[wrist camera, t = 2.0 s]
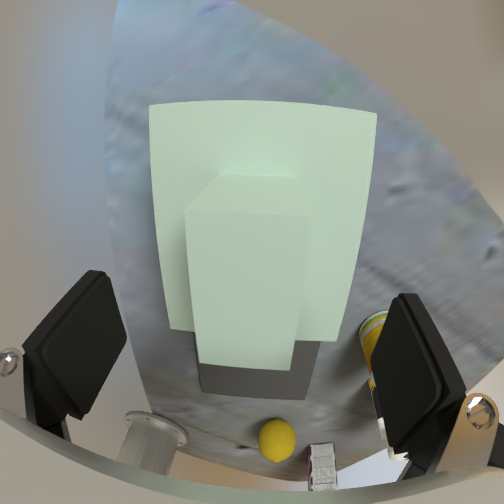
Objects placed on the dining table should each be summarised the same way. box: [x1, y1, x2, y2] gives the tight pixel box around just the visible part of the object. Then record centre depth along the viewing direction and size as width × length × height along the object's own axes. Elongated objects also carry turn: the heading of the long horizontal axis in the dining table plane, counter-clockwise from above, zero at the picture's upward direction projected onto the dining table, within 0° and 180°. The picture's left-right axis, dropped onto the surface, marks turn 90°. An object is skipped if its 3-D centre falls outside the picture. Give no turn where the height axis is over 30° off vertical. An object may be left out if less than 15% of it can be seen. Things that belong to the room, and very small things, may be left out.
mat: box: [193, 332, 321, 400], centre depth 32 cm, size 18×14×1 cm
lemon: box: [258, 418, 296, 463], centre depth 35 cm, size 6×6×8 cm
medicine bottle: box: [368, 379, 409, 460], centre depth 29 cm, size 7×7×12 cm
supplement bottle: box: [359, 311, 388, 387], centre depth 25 cm, size 5×5×10 cm
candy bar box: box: [307, 443, 338, 491], centre depth 38 cm, size 11×5×16 cm, turn 7°
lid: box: [149, 100, 377, 371], centre depth 14 cm, size 15×12×8 cm
